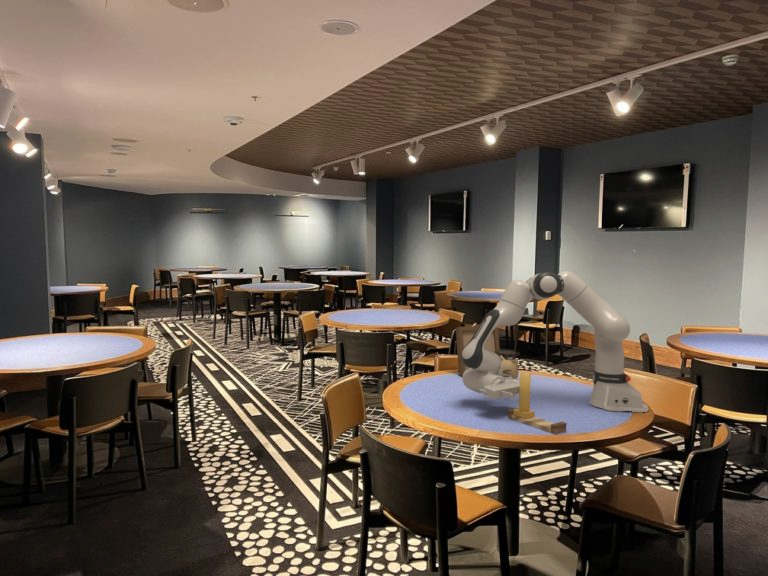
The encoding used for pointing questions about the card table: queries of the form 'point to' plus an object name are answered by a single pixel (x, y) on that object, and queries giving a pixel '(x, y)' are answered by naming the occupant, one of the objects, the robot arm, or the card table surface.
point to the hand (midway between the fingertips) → (521, 394)
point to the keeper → (524, 397)
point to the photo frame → (465, 336)
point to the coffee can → (506, 354)
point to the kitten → (508, 368)
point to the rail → (539, 423)
